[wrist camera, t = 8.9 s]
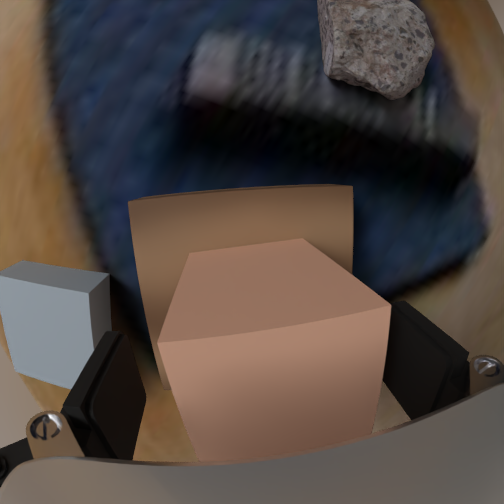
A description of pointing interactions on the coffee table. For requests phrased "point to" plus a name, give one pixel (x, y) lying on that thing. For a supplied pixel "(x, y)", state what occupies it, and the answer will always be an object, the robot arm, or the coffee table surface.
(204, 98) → the coffee table surface
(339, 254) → the walnut block
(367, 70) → the rock
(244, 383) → the terracotta block
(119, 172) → the coffee table surface
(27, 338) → the slate block
